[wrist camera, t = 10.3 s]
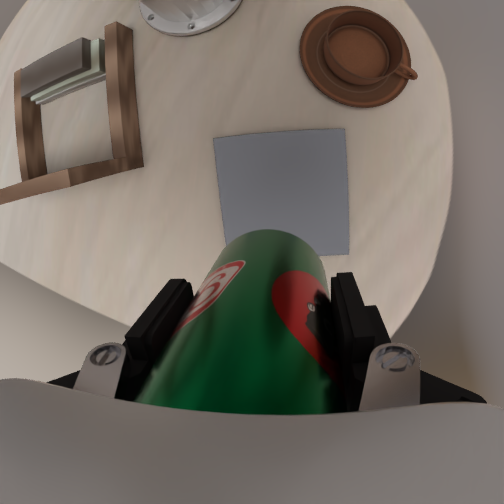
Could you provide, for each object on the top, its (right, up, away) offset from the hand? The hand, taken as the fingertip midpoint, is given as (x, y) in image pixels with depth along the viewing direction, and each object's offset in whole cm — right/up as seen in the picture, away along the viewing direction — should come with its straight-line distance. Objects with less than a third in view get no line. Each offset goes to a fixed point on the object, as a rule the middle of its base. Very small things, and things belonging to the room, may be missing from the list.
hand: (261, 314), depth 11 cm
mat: (+3, +8, +23) cm, 24 cm away
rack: (-23, +20, +22) cm, 38 cm away
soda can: (0, +1, +3) cm, 4 cm away
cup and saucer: (+11, +23, +17) cm, 30 cm away
